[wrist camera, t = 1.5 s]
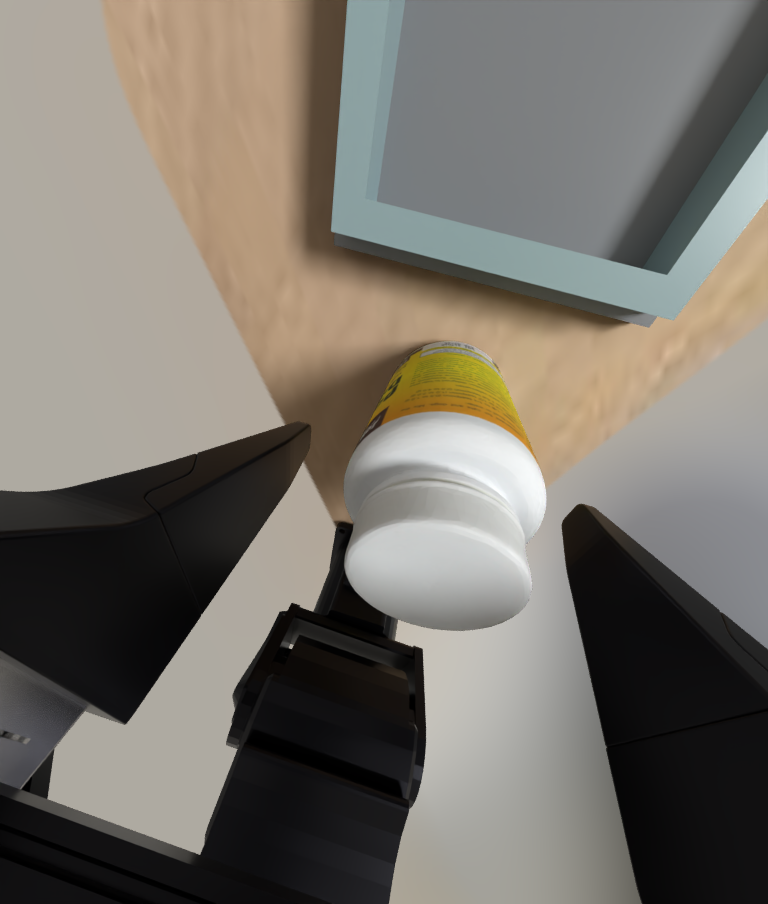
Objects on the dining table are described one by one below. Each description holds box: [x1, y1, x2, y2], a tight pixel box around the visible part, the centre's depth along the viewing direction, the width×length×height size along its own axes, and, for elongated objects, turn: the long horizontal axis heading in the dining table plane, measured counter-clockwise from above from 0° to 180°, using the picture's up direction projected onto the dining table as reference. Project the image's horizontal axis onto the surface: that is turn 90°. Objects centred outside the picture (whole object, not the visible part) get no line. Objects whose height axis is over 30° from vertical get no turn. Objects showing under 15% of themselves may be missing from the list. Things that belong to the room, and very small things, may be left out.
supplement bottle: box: [344, 341, 546, 631], centre depth 10 cm, size 6×6×10 cm
